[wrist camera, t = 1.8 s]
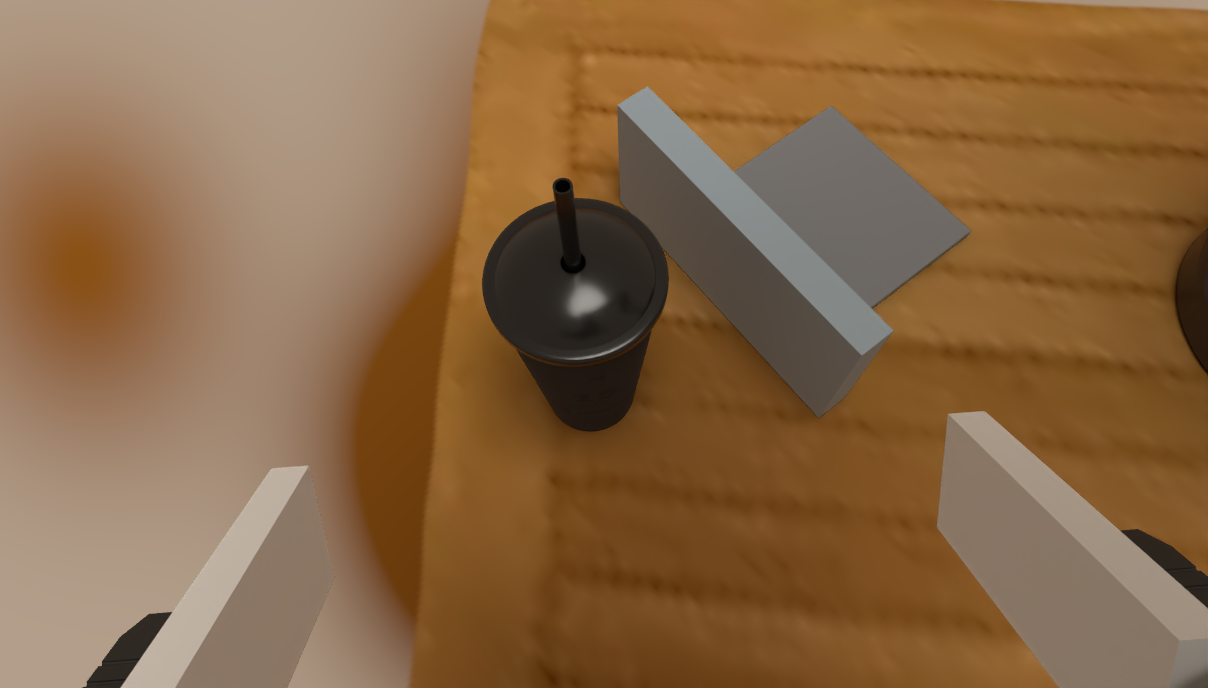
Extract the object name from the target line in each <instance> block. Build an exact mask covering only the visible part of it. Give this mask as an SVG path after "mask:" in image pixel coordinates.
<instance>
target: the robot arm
mask: <svg viewBox="0 0 1208 688" xmlns="http://www.w3.org/2000/svg"><path fill="white" fill-rule="evenodd" d="M1177 303H1178V309H1179V314H1180V318H1181V322H1182V325H1183V328H1184V331H1185V333H1186V336H1187V338H1188V340H1189V342H1190V344H1191V346H1192V348H1193V350H1194V352H1195V353H1196V355H1197V357H1198V358H1199V360H1200V361H1201V363H1202V364H1203V366H1204V367H1205V368H1206V370H1207V371H1208V229H1207V230H1206V231H1205V232H1204V233H1202V234H1201V235H1200V236H1199V237H1198V238H1197V240H1196V241H1195V242H1194V243H1193V244H1192V246H1191V247H1190V248H1189V250H1188V252H1187V254H1186V255H1185V257H1184V260H1183V262H1182V265H1181V268H1180V271H1179V276H1178V282H1177ZM937 528H938V530H939V531H940V532H941V533H942V535H943V536H944V537H945V539H946V540H947V541H948V543H949V544H950V545H951V547H952V548H953V549H954V551H955V552H956V553H957V555H958V556H959V557H960V558H961V560H962V561H963V562H964V564H965V565H966V566H967V568H968V569H969V570H970V572H971V573H972V574H973V576H974V577H975V578H976V579H977V581H978V582H979V583H980V585H981V586H982V587H983V589H984V590H985V591H986V593H987V594H988V595H989V597H990V598H991V599H992V600H993V602H994V603H995V604H996V606H997V607H998V608H999V610H1000V611H1001V612H1002V614H1003V615H1004V616H1005V618H1006V619H1007V620H1008V621H1009V623H1010V624H1011V625H1012V627H1013V628H1014V629H1015V631H1016V632H1017V633H1018V635H1019V636H1020V637H1021V639H1022V640H1023V641H1024V643H1025V644H1026V645H1027V646H1028V648H1029V649H1030V650H1031V652H1032V653H1033V654H1034V656H1035V657H1036V658H1037V660H1038V661H1039V662H1040V664H1041V665H1042V666H1043V667H1044V669H1045V670H1046V671H1047V673H1048V674H1049V675H1050V677H1051V678H1052V679H1053V681H1054V682H1055V683H1056V685H1057V686H1058V687H1059V688H1208V576H1206V575H1205V574H1204V573H1203V572H1202V571H1197V570H1196V566H1194V565H1193V564H1192V563H1191V562H1190V561H1188V560H1187V559H1186V558H1185V557H1184V556H1182V555H1181V554H1180V553H1179V552H1178V551H1176V550H1175V549H1174V548H1173V547H1172V546H1170V545H1168V544H1166V543H1164V542H1162V541H1160V540H1158V539H1156V538H1154V537H1152V536H1150V535H1148V534H1146V533H1144V532H1142V531H1140V530H1138V529H1135V530H1123V531H1120V530H1119V529H1117V528H1116V527H1115V526H1114V525H1113V524H1112V523H1111V522H1110V521H1108V520H1107V519H1106V518H1105V517H1104V516H1103V515H1102V514H1101V513H1099V512H1098V511H1097V510H1096V509H1095V508H1094V507H1093V506H1091V505H1090V504H1089V503H1088V502H1087V501H1086V500H1085V499H1084V498H1082V497H1081V496H1080V495H1079V494H1078V493H1077V492H1076V491H1075V490H1073V489H1072V488H1071V487H1070V486H1069V485H1068V484H1067V483H1066V482H1064V481H1063V480H1062V479H1061V478H1060V477H1059V476H1058V475H1056V474H1055V473H1054V472H1053V471H1052V470H1051V469H1050V468H1049V467H1047V466H1046V465H1045V464H1044V463H1043V462H1042V461H1041V460H1040V459H1038V458H1037V457H1036V456H1035V455H1034V454H1033V453H1032V452H1031V451H1029V450H1028V449H1027V448H1026V447H1025V446H1024V445H1023V444H1021V443H1020V442H1019V441H1018V440H1017V439H1016V438H1015V437H1014V436H1012V435H1011V434H1010V433H1009V432H1008V431H1007V430H1006V429H1005V428H1003V427H1002V426H1001V425H1000V424H999V423H998V422H997V421H995V420H994V419H993V418H992V417H991V416H990V415H989V414H988V413H986V412H985V411H978V412H966V413H953V414H948V419H947V429H946V439H945V450H944V460H943V470H942V480H941V490H940V501H939V511H938V521H937ZM334 578H335V577H334V573H333V568H332V564H331V559H330V555H329V550H328V546H327V542H326V537H325V533H324V528H323V524H322V520H321V515H320V511H319V507H318V502H317V498H316V494H315V489H314V485H313V480H312V476H311V471H310V467H309V466H297V467H285V468H272V469H271V470H270V471H269V473H268V474H267V476H266V477H265V478H264V480H263V481H262V483H261V484H260V486H259V487H258V489H257V490H256V492H255V493H254V494H253V496H252V497H251V499H250V500H249V502H248V503H247V505H246V506H245V508H244V509H243V511H242V512H241V513H240V515H239V516H238V518H237V519H236V521H235V522H234V524H233V525H232V526H231V528H230V529H229V531H228V532H227V534H226V535H225V537H224V538H223V540H222V541H221V542H220V544H219V545H218V547H217V548H216V550H215V551H214V553H213V554H212V556H211V557H210V559H209V560H208V561H207V563H206V564H205V566H204V567H203V569H202V570H201V571H200V573H199V574H198V576H197V578H196V579H195V580H194V582H193V583H192V585H191V586H190V588H189V589H188V591H187V592H186V593H185V595H184V596H183V598H182V599H181V601H180V602H179V604H178V605H177V606H176V608H175V609H174V611H173V612H168V613H156V614H148V615H147V616H146V617H145V618H143V619H142V620H141V621H140V622H139V623H137V624H136V625H135V626H134V627H132V628H131V629H130V630H128V631H127V632H126V633H125V634H123V635H122V636H121V637H120V638H119V639H118V641H117V642H116V644H115V645H114V646H113V647H112V649H111V650H110V651H109V653H108V654H107V656H106V657H105V658H104V659H103V661H102V666H98V668H97V669H96V670H95V672H94V673H93V674H92V676H91V677H90V678H89V680H88V681H87V686H86V687H83V688H287V687H288V685H289V682H290V680H291V678H292V675H293V673H294V671H295V668H296V666H297V664H298V661H299V659H300V657H301V655H302V652H303V650H304V648H305V645H306V643H307V641H308V638H309V636H310V634H311V631H312V629H313V627H314V624H315V622H316V620H317V617H318V615H319V613H320V610H321V608H322V606H323V604H324V601H325V599H326V597H327V594H328V592H329V590H330V587H331V585H332V582H333V580H334Z"/></svg>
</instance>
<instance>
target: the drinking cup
mask: <svg viewBox="0 0 1208 688" xmlns="http://www.w3.org/2000/svg"><path fill="white" fill-rule="evenodd" d="M553 193H554V199H555V201H552V202H549V203H546V204H543V205H540V206H538V207H535V208H533V209H531V210H529V211H527V212H526V213H524V214H522V215H521V216H519V217H518V218H517V219H515V220H514V221H513V222H512V223H511V224H510V225H508V226H507V227H506V228H505V230H504V231H503V232H502V233H501V234H500V235H499V237H498V238H497V240H496V241H495V243H494V244H493V246H492V248H491V250H490V252H489V254H488V257H487V259H486V262H485V266H484V270H483V278H482V289H483V297H484V302H485V305H486V308H487V311H488V314H489V316H490V318H491V320H492V322H493V324H494V326H495V327H496V329H497V330H498V331H499V333H500V334H501V335H502V336H503V337H504V339H505V340H506V341H507V342H508V343H510V344H511V345H512V346H513V347H514V348H516V350H517V351H518V353H519V354H520V356H521V358H522V359H523V361H524V363H525V364H526V366H527V368H528V369H529V371H530V372H531V374H532V376H533V377H534V379H535V381H536V382H537V384H538V386H539V387H540V389H541V390H542V392H543V394H544V395H545V397H546V399H547V400H548V402H549V404H550V405H551V407H552V408H553V410H554V412H555V413H556V415H557V416H558V417H559V418H560V419H561V420H562V421H563V422H564V423H566V424H567V425H569V426H571V427H573V428H575V429H579V430H583V431H598V430H603V429H606V428H608V427H611V426H612V425H614V424H616V423H617V422H618V421H620V420H621V419H622V418H623V417H624V416H625V414H626V413H627V412H628V410H629V408H630V406H631V404H632V401H633V397H634V393H635V390H636V386H637V382H638V379H639V375H640V371H641V367H642V364H643V360H644V356H645V353H646V349H647V345H648V341H649V338H650V334H651V330H652V328H653V327H654V325H655V324H656V322H657V321H658V319H659V317H660V315H661V313H662V311H663V308H664V305H665V302H666V298H667V292H668V281H669V276H668V267H667V262H666V258H665V255H664V252H663V250H662V247H661V245H660V244H659V242H658V240H657V238H656V237H655V236H654V234H653V233H652V232H651V230H650V229H649V228H648V227H647V226H646V225H645V224H644V223H643V222H642V221H641V220H640V219H638V218H637V217H636V216H634V215H633V214H631V213H630V212H628V211H626V210H624V209H622V208H620V207H618V206H616V205H613V204H611V203H607V202H604V201H599V200H594V199H585V198H574V193H573V185H572V182H571V181H570V180H569V179H567V178H559V179H557V180H556V181H555V182H554V183H553Z"/></svg>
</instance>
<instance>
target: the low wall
mask: <svg viewBox="0 0 1208 688" xmlns="http://www.w3.org/2000/svg"><path fill="white" fill-rule="evenodd" d="M618 145H619V185H620V202H621V203H622V204H623V205H624V207H625V208H626V209H627V210H628V211H629V212H630V213H631V214H633V215H634V216H636V217H637V218H638V219H640V220H641V221H642V222H643V223H644V224H645V225H646V226H647V227H648V228H649V229H650V230H651V232H652V233H653V234H654V236H655V237H656V238H657V240H658V242H659V244H660V245H661V247H662V248H663V249H664V250H665V251H666V252H667V253H668V255H669V256H670V257H671V258H672V259H673V260H674V261H675V262H676V263H677V264H678V265H679V266H680V268H681V269H682V270H683V271H684V272H685V273H686V274H687V275H688V276H689V277H690V278H691V280H692V281H693V282H694V283H695V284H696V285H697V286H698V287H699V288H700V289H701V290H702V292H703V293H704V294H705V295H706V296H707V297H708V298H709V299H710V300H711V301H712V302H713V304H714V305H715V306H716V307H717V308H718V309H719V310H720V311H721V312H722V313H723V314H724V316H725V317H726V318H727V319H728V320H729V321H730V322H731V323H732V324H733V325H734V326H735V328H736V329H737V330H738V331H739V332H740V333H741V334H742V335H743V336H744V337H745V338H746V340H747V341H748V342H749V343H750V344H751V345H752V346H753V347H754V348H755V349H756V350H757V352H758V353H759V354H760V355H761V356H762V357H763V358H764V359H765V360H766V361H767V362H768V364H769V365H770V366H771V367H772V368H773V369H774V370H775V371H776V372H777V373H778V374H779V376H780V377H781V378H782V379H783V380H784V381H785V382H786V383H787V384H788V385H789V386H790V387H791V389H792V390H793V391H794V392H795V393H796V394H797V395H798V396H799V397H800V398H801V399H802V401H803V402H804V403H805V404H806V405H807V406H808V407H809V408H810V409H811V410H812V411H813V413H814V414H815V415H816V416H817V417H818V418H819V417H821V416H822V415H823V414H825V413H826V412H827V411H828V410H830V409H831V408H832V407H833V406H835V405H836V404H837V403H838V402H840V401H841V400H842V399H844V398H845V397H846V395H847V394H848V393H849V391H850V390H851V389H852V387H853V386H854V384H855V383H856V382H857V380H858V379H859V378H860V376H861V375H862V373H863V372H864V371H865V369H866V368H867V367H868V365H869V364H870V363H871V361H872V360H873V358H874V357H875V356H876V354H877V353H878V352H879V350H880V349H881V348H882V346H883V345H884V343H885V342H886V341H887V339H888V338H889V337H890V335H891V334H892V332H893V331H894V330H893V329H892V328H891V327H890V326H889V325H888V324H887V323H886V322H885V321H884V320H883V319H882V318H881V317H880V316H879V315H878V314H877V313H876V312H875V311H874V310H873V309H872V308H871V307H870V306H869V305H868V304H866V303H865V302H864V301H863V300H862V299H861V298H860V297H859V296H858V295H857V294H856V293H855V292H854V291H853V290H852V289H851V288H850V287H849V286H848V285H847V284H846V283H845V282H844V281H843V280H842V279H841V278H840V277H839V276H838V275H837V274H836V273H835V272H834V271H833V270H832V269H831V268H830V267H829V266H828V265H827V264H826V263H825V262H824V261H823V260H822V259H821V258H820V257H819V256H818V255H817V254H816V253H815V252H814V251H813V250H812V249H811V248H810V247H809V246H808V245H807V244H806V243H805V242H804V241H803V240H802V239H801V238H800V237H799V236H798V235H797V234H796V233H795V232H794V231H793V230H792V229H791V228H790V227H789V226H788V225H787V224H786V223H785V222H784V221H783V220H782V219H781V218H780V217H779V216H778V215H777V214H776V213H775V212H774V211H773V210H772V209H771V208H770V207H769V206H768V205H767V204H766V203H765V202H764V201H763V200H762V199H761V198H760V197H759V196H758V195H757V194H756V193H755V192H754V191H753V190H752V189H751V188H750V187H749V186H748V185H747V184H745V183H744V182H743V181H742V180H741V179H740V178H739V177H738V176H737V175H736V174H735V173H734V172H733V171H732V170H731V169H730V168H729V167H728V166H727V165H726V164H725V163H724V162H723V161H722V160H721V159H720V158H719V157H718V156H717V155H716V154H715V153H714V152H713V151H712V150H711V149H710V148H709V147H708V146H707V145H706V144H705V143H704V142H703V141H702V140H701V139H700V138H699V137H698V136H697V135H696V134H695V133H694V132H693V131H692V130H691V129H690V128H689V127H688V126H687V125H686V124H685V123H684V122H683V121H682V120H681V119H680V118H679V117H678V116H677V115H676V114H675V113H674V112H673V111H672V110H671V109H670V108H669V107H668V106H667V105H666V104H665V103H664V102H663V101H662V100H661V99H660V98H659V97H658V96H657V95H656V94H655V93H654V92H653V91H652V90H651V89H650V88H649V87H648V86H647V87H646V88H644V89H642V90H641V91H639V92H638V93H636V94H634V95H633V96H631V97H630V98H628V99H627V100H625V101H623V102H622V103H620V104H619V105H618Z"/></svg>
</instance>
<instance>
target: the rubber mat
mask: <svg viewBox="0 0 1208 688" xmlns="http://www.w3.org/2000/svg"><path fill="white" fill-rule="evenodd" d="M734 173H735V174H736V175H737V176H738V177H739V178H740V179H741V180H742V181H743V182H744V183H745V184H747V185H748V186H749V187H750V188H751V189H752V190H753V191H754V192H755V193H756V194H757V195H758V196H759V197H760V198H761V199H762V200H763V201H764V202H765V203H766V204H767V205H768V206H769V207H770V208H771V209H772V210H773V211H774V212H775V213H776V214H777V215H778V216H779V217H780V218H781V219H782V220H783V221H784V222H785V223H786V224H787V225H788V226H789V227H790V228H791V229H792V230H793V231H794V232H795V233H796V234H797V235H798V236H799V237H800V238H801V239H802V240H803V241H804V242H805V243H806V244H807V245H808V246H809V247H810V248H811V249H812V250H813V251H814V252H815V253H816V254H817V255H818V256H819V257H820V258H821V259H822V260H823V261H824V262H825V263H826V264H827V265H828V266H829V267H830V268H831V269H832V270H833V271H834V272H835V273H836V274H837V275H838V276H839V277H840V278H841V279H842V280H843V281H844V282H845V283H846V284H847V285H848V286H849V287H850V288H851V289H852V290H853V291H854V292H855V293H856V294H857V295H858V296H859V297H860V298H861V299H862V300H863V301H864V302H865V303H866V304H868V305H869V306H870V307H871V308H872V309H873V308H874V307H875V306H877V305H878V304H879V303H881V302H882V301H883V300H884V299H886V298H887V297H888V296H890V295H891V294H892V293H894V292H895V291H896V290H898V289H899V288H900V287H901V286H903V285H904V284H905V283H907V282H908V281H909V280H911V279H912V278H913V277H915V276H916V275H917V274H918V273H920V272H921V271H922V270H924V269H925V268H926V267H928V266H929V265H930V264H932V263H933V262H934V261H935V260H937V259H938V258H939V257H941V256H942V255H943V254H945V253H946V252H947V251H949V250H950V249H951V248H952V247H954V246H955V245H956V244H958V243H959V242H960V241H962V240H963V239H964V238H966V237H967V236H968V235H969V233H970V232H971V230H970V229H969V228H968V227H966V226H965V225H964V224H963V223H962V222H961V221H960V220H959V219H957V218H956V217H955V216H954V215H953V214H952V213H951V212H950V211H949V210H947V209H946V208H945V207H944V206H943V205H942V204H941V203H940V202H938V201H937V200H936V199H935V198H934V197H933V196H932V195H931V194H929V193H928V192H927V191H926V190H925V189H924V188H923V187H922V186H921V185H919V184H918V183H917V182H916V181H915V180H914V179H913V178H912V177H910V176H909V175H908V174H907V173H906V172H905V171H904V170H903V169H902V168H900V167H899V166H898V165H897V164H896V163H895V162H894V161H893V160H891V159H890V158H889V157H888V156H887V155H886V154H885V153H884V152H882V151H881V150H880V149H879V148H878V147H877V146H876V145H875V144H874V143H872V142H871V141H870V140H869V139H868V138H867V137H866V136H865V135H863V134H862V133H861V132H860V131H859V130H858V129H857V128H856V127H855V126H853V125H852V124H851V123H850V122H849V121H848V120H847V119H846V118H844V117H843V116H842V115H841V114H840V113H839V112H838V111H837V110H835V109H834V108H833V107H832V106H830V107H829V108H827V109H826V110H824V111H823V112H821V113H820V114H818V115H817V116H815V117H814V118H812V119H811V120H809V121H808V122H806V123H805V124H804V125H802V126H801V127H799V128H798V129H796V130H795V131H793V132H792V133H790V134H789V135H787V136H786V137H784V138H783V139H781V140H780V141H778V142H777V143H776V144H774V145H773V146H771V147H770V148H768V149H767V150H765V151H764V152H762V153H761V154H759V155H758V156H756V157H755V158H753V159H752V160H750V161H749V162H748V163H746V164H745V165H743V166H742V167H740V168H739V169H737V170H736V171H734Z"/></svg>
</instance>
